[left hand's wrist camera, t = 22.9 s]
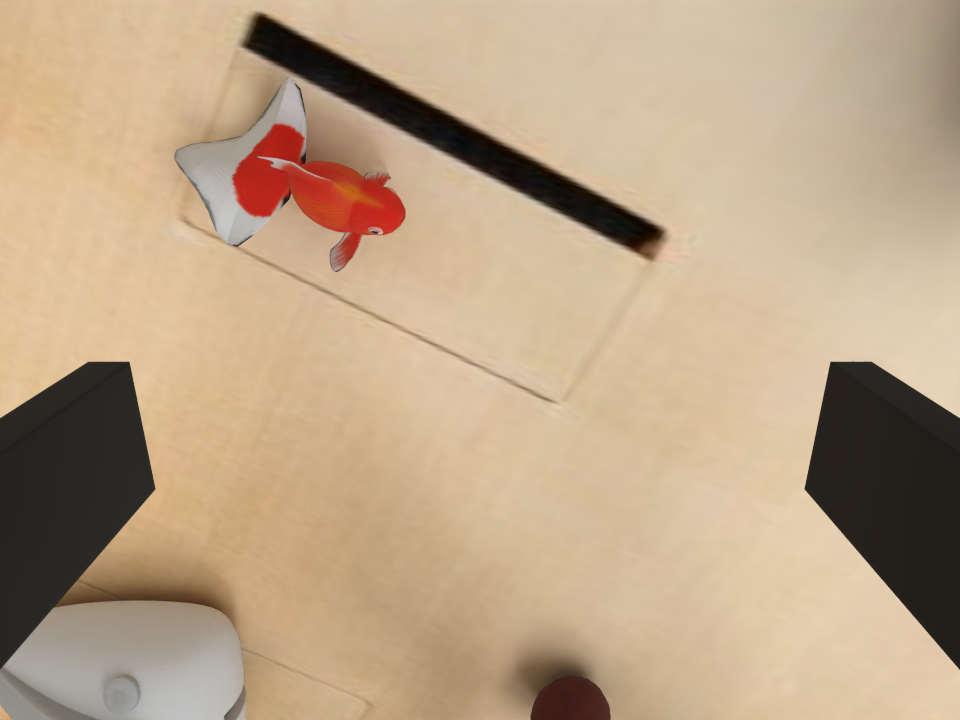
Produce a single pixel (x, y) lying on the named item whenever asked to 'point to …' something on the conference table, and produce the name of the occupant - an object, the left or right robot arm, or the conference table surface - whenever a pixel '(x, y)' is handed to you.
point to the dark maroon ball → (571, 701)
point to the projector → (127, 665)
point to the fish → (287, 181)
